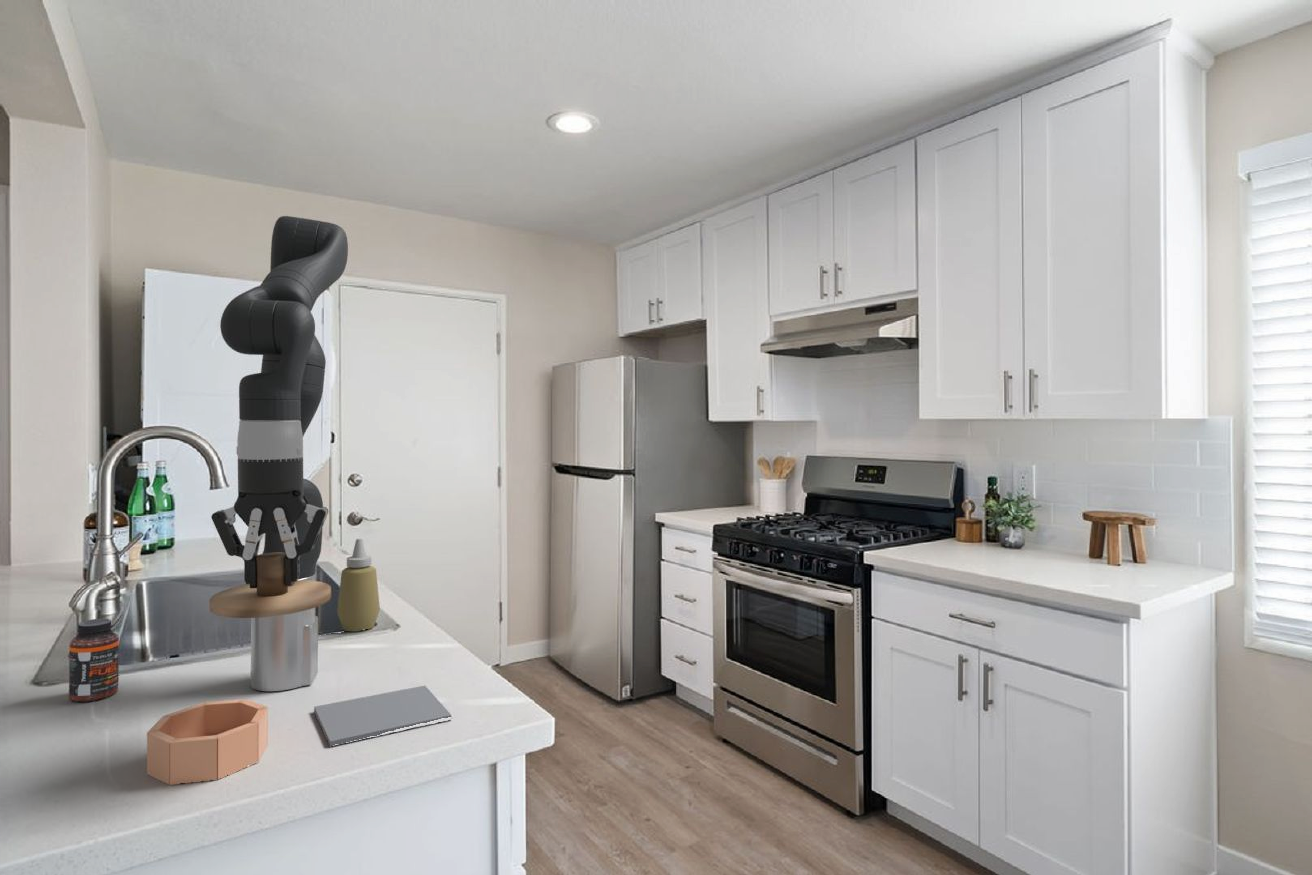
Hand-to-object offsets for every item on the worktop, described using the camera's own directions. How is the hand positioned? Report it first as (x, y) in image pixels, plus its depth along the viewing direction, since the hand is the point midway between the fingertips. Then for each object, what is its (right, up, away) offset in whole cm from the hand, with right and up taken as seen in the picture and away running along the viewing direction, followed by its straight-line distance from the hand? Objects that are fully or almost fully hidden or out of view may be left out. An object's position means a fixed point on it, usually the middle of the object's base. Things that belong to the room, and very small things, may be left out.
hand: (272, 585), depth 94 cm
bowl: (-6, -21, -4) cm, 22 cm away
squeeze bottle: (-10, -19, +51) cm, 55 cm away
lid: (0, -2, 0) cm, 2 cm away
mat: (+11, -21, +10) cm, 25 cm away
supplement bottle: (-35, -20, +15) cm, 43 cm away
